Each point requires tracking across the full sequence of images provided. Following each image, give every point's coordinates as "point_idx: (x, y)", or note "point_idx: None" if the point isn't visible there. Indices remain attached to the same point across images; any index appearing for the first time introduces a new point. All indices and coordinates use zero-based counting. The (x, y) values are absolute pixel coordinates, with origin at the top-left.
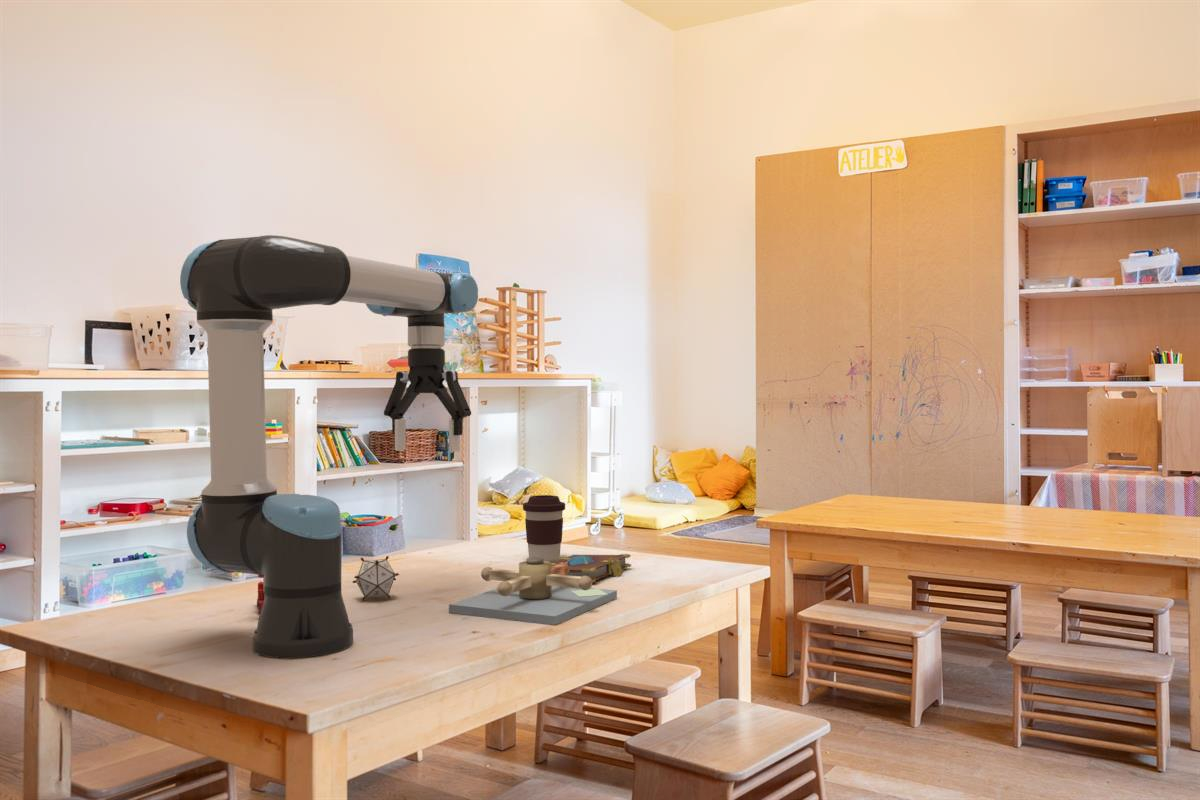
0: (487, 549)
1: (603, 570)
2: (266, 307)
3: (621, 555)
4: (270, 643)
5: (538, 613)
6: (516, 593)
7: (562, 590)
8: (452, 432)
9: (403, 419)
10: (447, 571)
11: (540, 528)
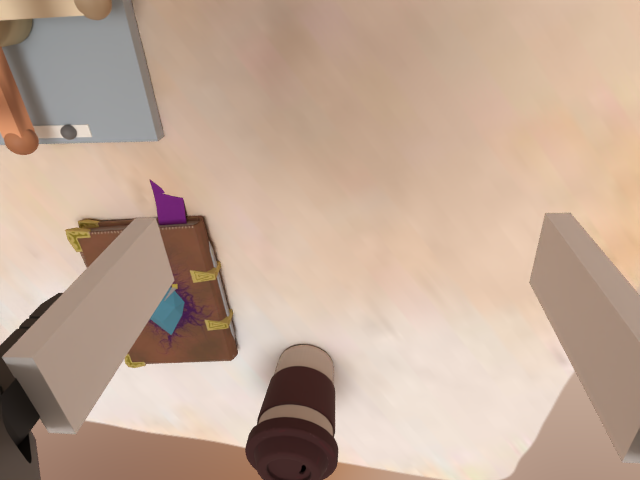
0: (463, 408)
1: None
2: None
3: (136, 359)
4: None
5: None
6: (58, 20)
7: None
8: (70, 291)
9: (630, 437)
10: (409, 220)
11: (282, 391)
